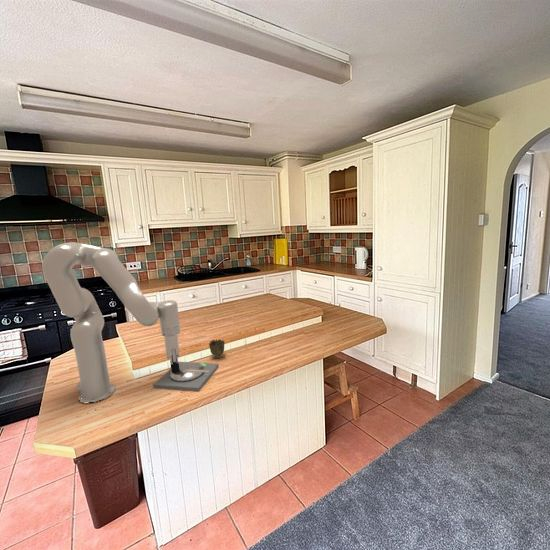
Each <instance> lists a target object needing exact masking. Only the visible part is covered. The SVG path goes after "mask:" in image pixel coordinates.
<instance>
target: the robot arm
mask: <svg viewBox="0 0 550 550" xmlns="http://www.w3.org/2000/svg"><path fill="white" fill-rule="evenodd" d="M76 265H78V266H85V267H89V268H94V270H95V271H96V272H97V274H99V276H100V277H101V278H102V279H103V280H104V281H105V282H106V283H107V285H108V287H110V288H111V289H112V290H113V291H114V293H115V294H116V296H117V297H118V299H119V300H120V301H121V303H122V304H123V306H125V308H126V309H127V311H128V312H129V313H130V314H131V315H132V316H133V318H134V319H135V320H136V321H137V322H138V323H139V324H140V325H142V326H144V327H153V326H154V325H156V323H158V320H159V323H160V333H161V336H162V337H164V346H165V353H166V354H165V355H166V359H167V360H169V361H170V369H171V370H172V373H175V372H179V371H180V370H179V362H180V361H179V357H180V346H179V344H180V343H179V334H180V333H181V327H180V317H179V316H180V315H179V309H178V302H177V301H176V300H163V301H148V299H147V298H146V297H145V296H144V294H143V292H142V291H141V289H140V287H139V284H138V282H137V280H136V278H135V277H134V276H133V275H132V274H131V272H129V270H128V269H127V268H126V267H125V266H124V264H123V263H122V261H120V259H119V256H118V254H117V252H116V251H115V250H112V249H111V248H106V247H102V246H101V247H100V246H95V245H90V244H85V243H81V242H74V241H73V242H72V241H70V242H64V243H60V244H57V245H55V246H54V247H52V248H51V249H50V250H49V251H48V252H47V253H46V254H45V256H44V258H43V260H42V264H41V270H42V274H43V277H44V279H45V281H46V282H47V284H48V286H49V289H50V291H51V293H52V295H53V297H54V299H55V301H56V303H57V304H58V307H59V310H60V311H61V313H62V314H63V315H64V316H66V317H69V318H73V319H74V321H75V322H74V323H73V325H72V327H71V330H70V340H71V343H72V346H73V349H74V354H75V359H76V363H77V369H78V375H79V379H80V381H78V383H77V385H76V386H75V390H76V391H80V392H79V395H78V396H77V399H78V401H79V400H80V401H82V402H94V403H97V402H96V401H98V402H100V401H99V400H101V401H103V400H102V399H104V400H105V398H106V399H107V398H109V397H110V395H111V396H112V395H113V394H114V393H115V392H116V385H115V384H114V383H112V382H111V381H110V380H111V379H110V376H109V375H110V373H109V368H108V367H109V366H108V360H107V355H106V348H105V345H104V341H103V336H102V335H103V334H102V331H103V329H104V327H105V318H104V315H103V314H102V312H101V309H100V307H99V305H98V303H97V301H96V298H95V297H94V295H93V293H92V292H91V291H89V289H86V288H85V287H82V286H81V285H80V283H79V280H78V279H77V277H76V275H75V274H74V271H73V267H75V266H76ZM172 356H173V357H172ZM172 359H173V360H172ZM81 398H82V399H81ZM80 401H79V402H80Z"/></svg>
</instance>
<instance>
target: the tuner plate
mask: <svg viewBox="0 0 550 550" xmlns="http://www.w3.org/2000/svg"><path fill="white" fill-rule="evenodd" d="M178 362H179V366H180V365H183V364H188V363H198V364H201V365H203V366H204V370H205V371H209V372H204V373H203V374H202V375H201V376H200V377H198V378H196V379H193V380H190V381H184V382H178V381H174V380H172V379H171V377H170V373H171V371H172V370H171V368H170V369H168V370H167V371H166V372H164V374H163V375H162V376H161V377H159V378H158V379H157V381H155V382H154V383H153V384H152V388H153V389H159V390H174V391H175V390H176V391H187V392H200V391H201V390H202V389H203V388H204V386H205V385H206V383H207V382H208V381H209V380H210V378H211V377H212V376H213V375H214V373H215V372H216V371H217V370H218V368H220V367H219V363H210V362H209V363H208V362H191V361H178ZM212 374H213V375H212Z"/></svg>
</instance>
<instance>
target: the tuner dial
mask: <svg viewBox="0 0 550 550" xmlns="http://www.w3.org/2000/svg"><path fill="white" fill-rule="evenodd" d="M172 357H173V356H172ZM172 360H173V359H172ZM198 363H199V362H196V363H188V364H183V365H180V366H179V370H180V371H179V372H175V373H172V371H171V373H170V377H171V379H172V380H174V381H178V382H184V381H190V380H193V379H196V378H198V377H200V376H201V375H202V374H203V373H204V372H209V371H205V370H204V366H203V365H201V364H198Z"/></svg>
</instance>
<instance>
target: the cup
mask: <svg viewBox="0 0 550 550" xmlns="http://www.w3.org/2000/svg"><path fill="white" fill-rule="evenodd" d="M208 345H209V350H210V353H211V355H213V357H214V358H215V359H218V360H219V359H221V358H222V356H223V354H224V352H225V340H224V339H215V340H214V339H213V340H211V341H209V342H208Z"/></svg>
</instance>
